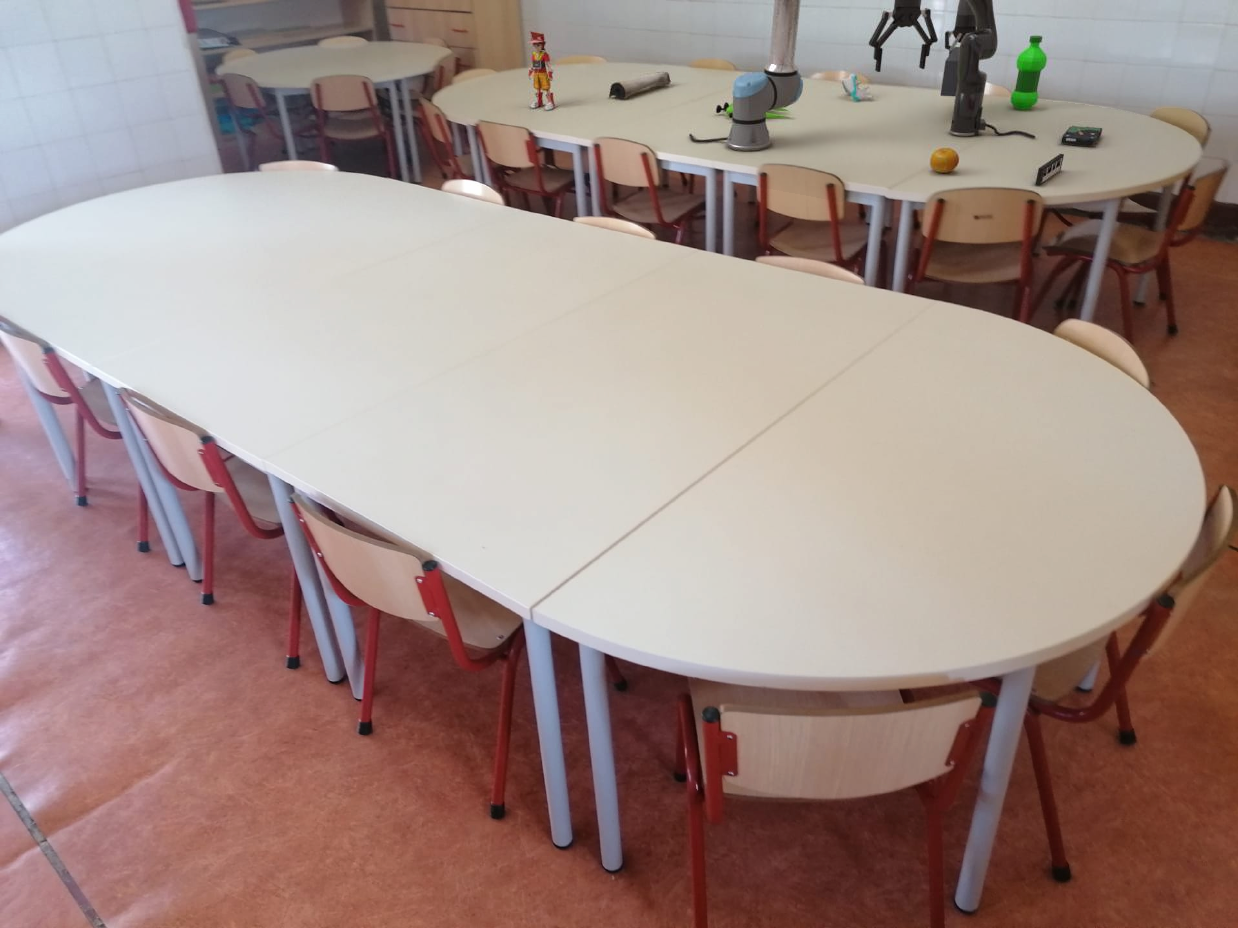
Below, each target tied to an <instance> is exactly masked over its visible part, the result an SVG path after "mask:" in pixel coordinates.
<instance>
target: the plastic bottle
mask: <svg viewBox="0 0 1238 928" xmlns="http://www.w3.org/2000/svg"><path fill="white" fill-rule="evenodd" d="M1042 42H1043V36H1042V35H1030V37H1029V41H1028V43H1030V44H1029V46H1028V47H1026V49H1024V50H1023V51H1021V52H1020V53H1019V54H1018V56H1017V59H1016V68H1017V70H1018V71H1017V77H1016V82H1015V87H1014V90H1013V91H1012V93H1011V96H1010V103H1011V105H1012V106H1013V107H1014V108H1015V109H1016V110H1020V111H1027V110H1030V109H1031V108H1033V107H1034V106H1035V105H1036V104H1037V102H1038V101H1039V92H1038V87H1039V82H1040V78H1041V72H1042V70H1043V69H1045V67H1046V66H1047V61H1048V59H1047V54H1046V52H1044V50H1043V48H1041V47H1040V44H1041V43H1042Z"/></svg>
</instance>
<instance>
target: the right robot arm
mask: <svg viewBox="0 0 1238 928" xmlns="http://www.w3.org/2000/svg"><path fill="white" fill-rule="evenodd" d="M957 4H958V5H957V8H956V9H957V10H956V17H955V22H954V29H953V30H946V31H945V33H944V49H945V50H948V56H949V55H950V53H951V52H952V50H953V49H954V48H955V47H957V46H956V45H957V44H958V43H959V44H960V45H959V47H960V49H959V58H958V67H957V73H958V83H957V90H956V96H954V104H953V110H952V115H951V120H950V122H951V123H950V129H949V134H950V135H952V136H956V137H973V136H979V131H986V128H989V129H991V130H993V132H994V134H995V135H997V136H1000V137H1003V136H1010V135H1014V134H1015V135H1022V136H1026V137H1028V138H1031V139H1036V135H1034V134H1032V133H1029V132H1027V131H1026V132H1025V131H1021V130H1011V131H1006V132H999V131H998V130H997V128H996V127H995V126H994V125H992V124H988V123H987V122H986V120H985V118H982V115H983V109H984V107H983V102H984V96H985V90H986V83H987V79H988V74H987V73H986V71H983V70H980V61H984V60H988V59H989V60H990V59H991V58H993V57H994V56H995V54H996V52H997V50H998V42H999V40H998V31H997V24H996V19H995V18H996V17H995V12H994V1H993V0H958V3H957ZM952 35H953V37H954V41H953V43H952V44H951V45H950V38H951V37H952Z"/></svg>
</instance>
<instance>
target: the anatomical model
mask: <svg viewBox="0 0 1238 928" xmlns="http://www.w3.org/2000/svg"><path fill="white" fill-rule="evenodd" d="M857 80H858V76H857V75H856V74H854V72H850V73H849V75H848V77H845V78H842V79H841V84H842V88H843V89H844V92H845V93H846V94H849V95H851V97H852V99H853V100H854V101H855V102H860V101H862V100H871V99H873V98H874V97H873V95H868V94H867V91H868V89H869V88H870V86H869V85H867V86H864V87H862V88H859V86H860V84H861V82H862V80H858V81H857Z"/></svg>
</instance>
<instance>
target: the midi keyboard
mask: <svg viewBox="0 0 1238 928" xmlns="http://www.w3.org/2000/svg"><path fill="white" fill-rule="evenodd" d="M1064 157H1065V153H1059V154H1058V155H1056V156H1055V157H1052V159H1051V160H1049V161H1047V162H1045V164H1042V165H1041V166H1039V167H1038V169H1037V175H1036V179H1035V186H1040V185H1042V183H1044V182H1045V181H1047V180H1048V179H1049V178H1051V177H1052V176H1054V175H1055V174H1056V173H1058V172H1060V171H1061V170H1062V165H1063V161H1064Z"/></svg>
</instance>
